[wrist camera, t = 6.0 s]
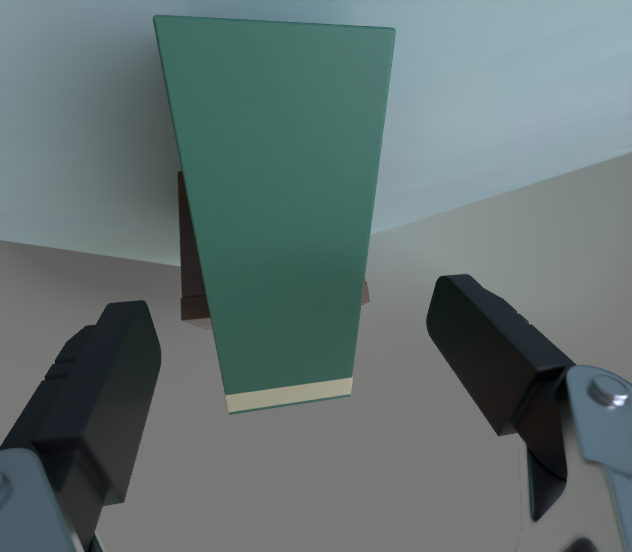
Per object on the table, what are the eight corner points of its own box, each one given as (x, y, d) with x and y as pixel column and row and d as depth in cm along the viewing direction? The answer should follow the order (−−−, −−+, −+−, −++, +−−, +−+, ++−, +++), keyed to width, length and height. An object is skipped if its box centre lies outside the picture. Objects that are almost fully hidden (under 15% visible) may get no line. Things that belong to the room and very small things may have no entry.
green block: (148, -92, 8) (159, 539, 5) (378, -68, 9) (487, 469, 6) (220, 182, 20) (234, 403, 17) (310, 179, 21) (336, 388, 18)
